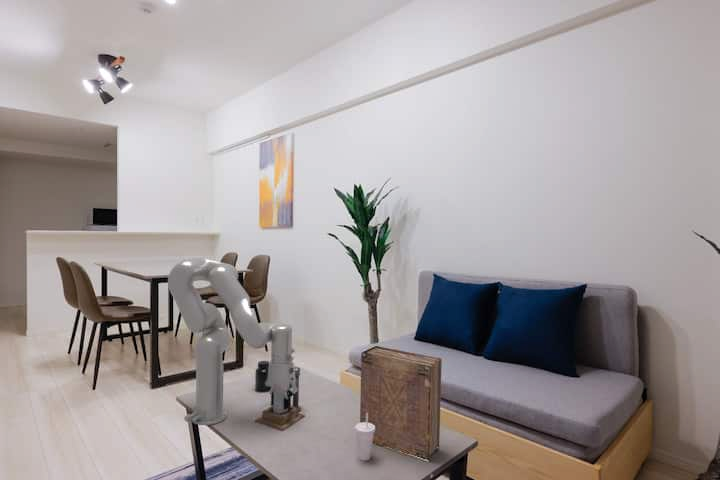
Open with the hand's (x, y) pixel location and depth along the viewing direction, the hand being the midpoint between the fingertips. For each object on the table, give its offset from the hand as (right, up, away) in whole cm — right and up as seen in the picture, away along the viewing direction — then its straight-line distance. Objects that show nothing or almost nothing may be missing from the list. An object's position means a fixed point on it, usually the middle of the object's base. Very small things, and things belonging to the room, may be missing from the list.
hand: (280, 405), depth 152 cm
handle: (-5, -4, +39) cm, 40 cm away
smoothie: (+31, -7, -24) cm, 40 cm away
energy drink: (0, -3, 0) cm, 3 cm away
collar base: (+1, -5, +2) cm, 6 cm away
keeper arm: (-1, +9, +10) cm, 14 cm away
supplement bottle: (-13, -4, +28) cm, 31 cm away
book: (+43, -7, -16) cm, 46 cm away
